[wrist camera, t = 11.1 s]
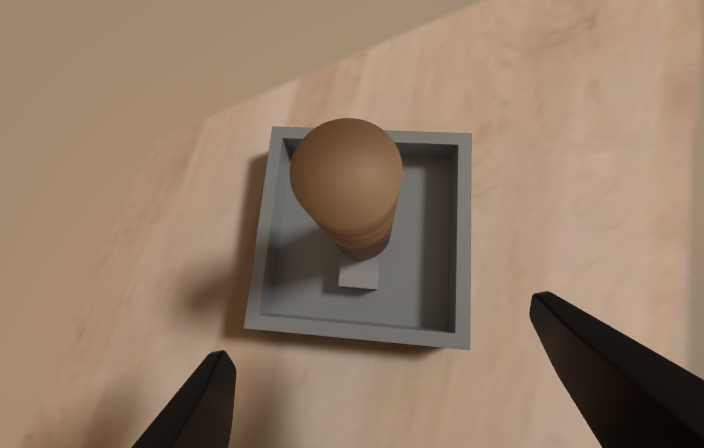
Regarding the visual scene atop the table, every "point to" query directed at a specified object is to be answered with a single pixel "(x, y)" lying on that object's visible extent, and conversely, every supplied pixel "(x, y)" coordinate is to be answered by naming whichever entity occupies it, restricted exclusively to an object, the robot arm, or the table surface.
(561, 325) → the robot arm
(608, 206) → the table surface
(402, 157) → the tray
